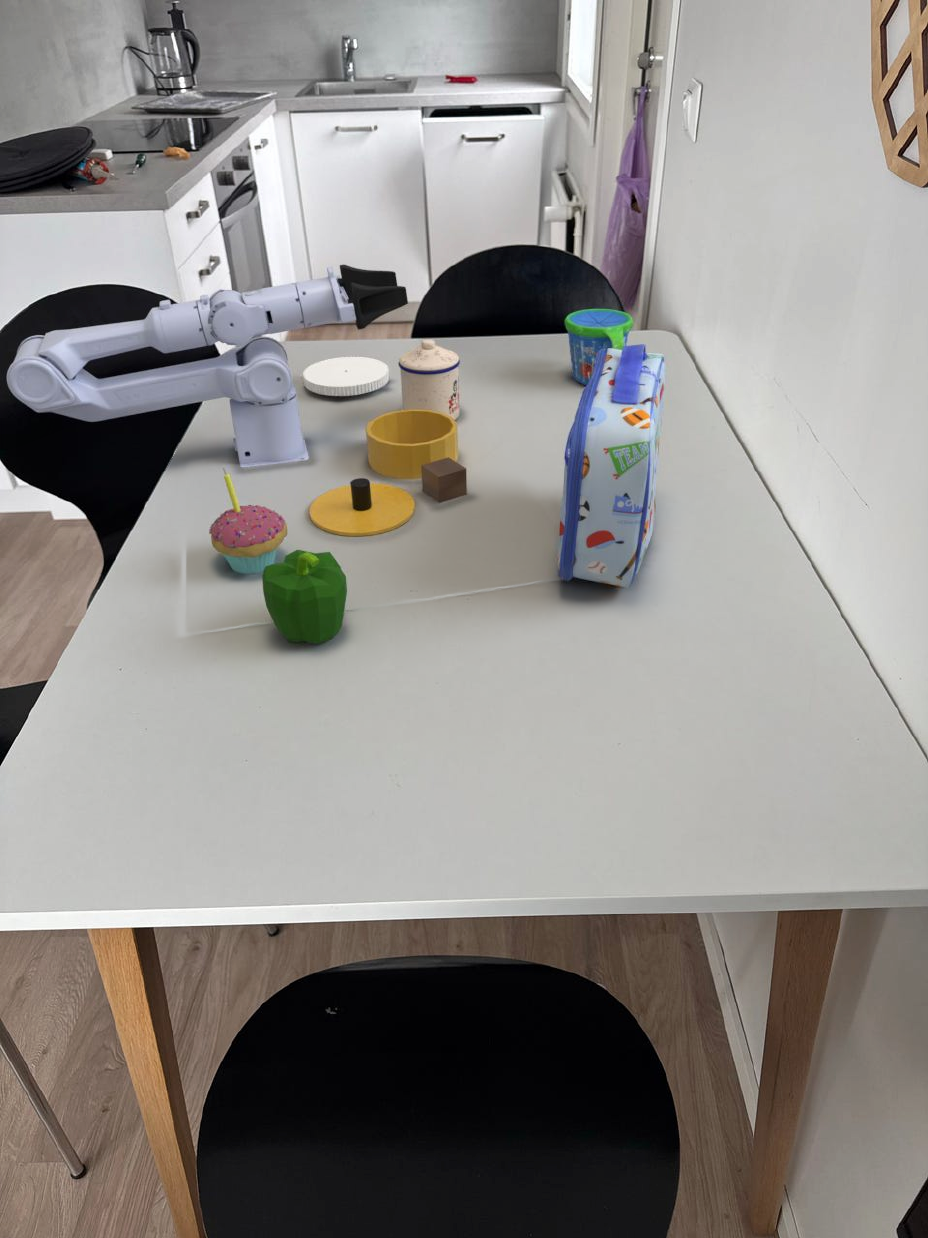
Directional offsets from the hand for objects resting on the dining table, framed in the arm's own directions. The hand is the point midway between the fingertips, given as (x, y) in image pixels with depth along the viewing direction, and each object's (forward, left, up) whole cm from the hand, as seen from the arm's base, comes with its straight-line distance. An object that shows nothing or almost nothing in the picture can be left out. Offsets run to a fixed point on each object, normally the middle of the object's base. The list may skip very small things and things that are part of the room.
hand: (401, 287), depth 126 cm
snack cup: (+34, +15, -22) cm, 43 cm away
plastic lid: (-6, +24, -22) cm, 33 cm away
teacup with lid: (+5, +9, -22) cm, 24 cm away
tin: (-1, -8, -22) cm, 23 cm away
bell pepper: (-19, -45, -22) cm, 54 cm away
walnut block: (+1, -19, -22) cm, 29 cm away
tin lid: (-10, -21, -21) cm, 31 cm away
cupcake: (-24, -30, -22) cm, 44 cm away
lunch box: (+17, -36, -22) cm, 45 cm away
